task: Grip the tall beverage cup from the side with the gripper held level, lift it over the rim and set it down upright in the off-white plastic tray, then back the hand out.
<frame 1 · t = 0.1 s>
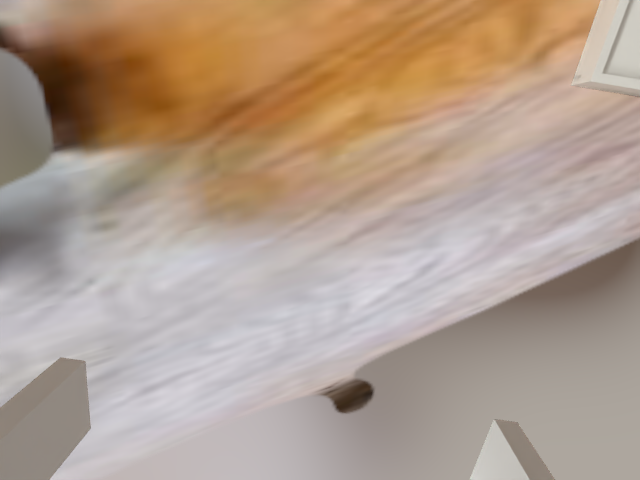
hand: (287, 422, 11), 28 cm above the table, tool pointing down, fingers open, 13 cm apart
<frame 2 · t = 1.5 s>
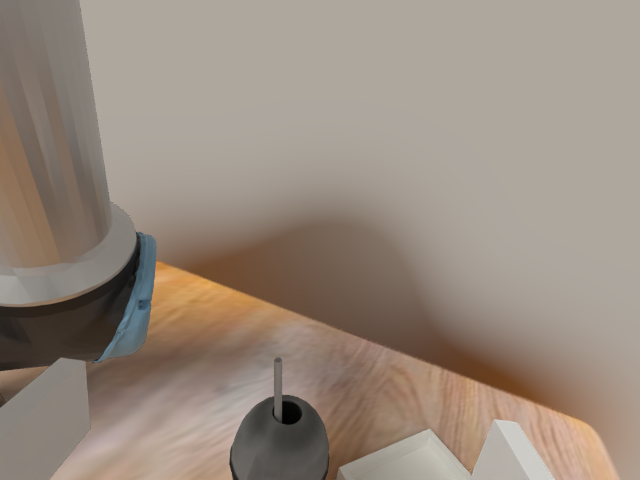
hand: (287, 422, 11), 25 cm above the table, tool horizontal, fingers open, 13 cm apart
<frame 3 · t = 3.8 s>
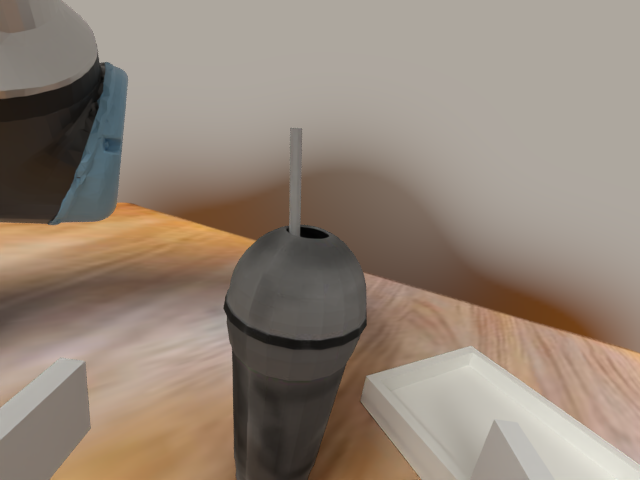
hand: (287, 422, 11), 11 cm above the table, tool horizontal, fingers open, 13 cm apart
beverage cup: (272, 470, 20), on the table
tray: (492, 453, 24), on the table
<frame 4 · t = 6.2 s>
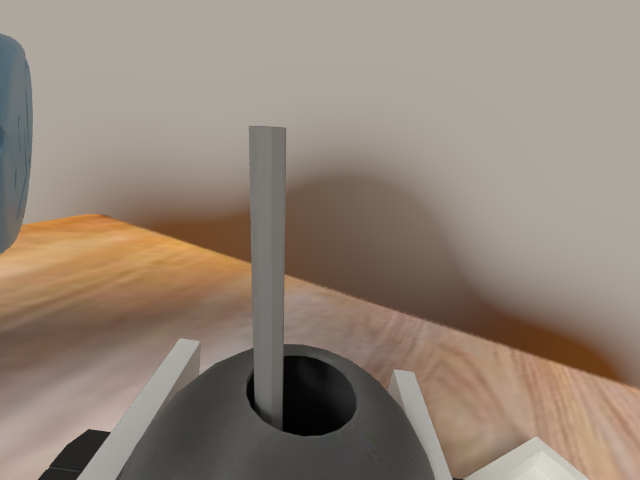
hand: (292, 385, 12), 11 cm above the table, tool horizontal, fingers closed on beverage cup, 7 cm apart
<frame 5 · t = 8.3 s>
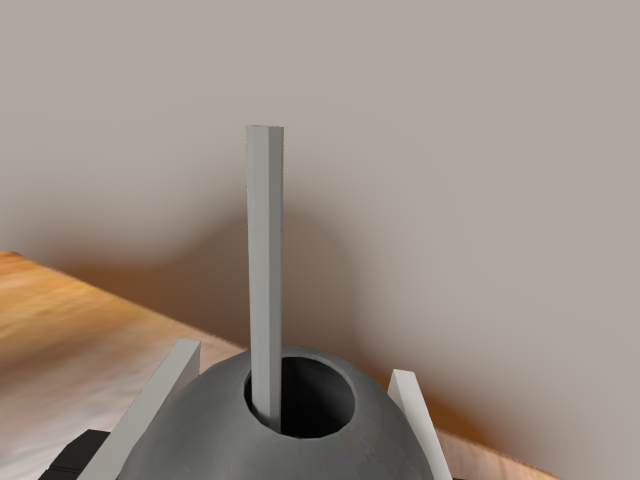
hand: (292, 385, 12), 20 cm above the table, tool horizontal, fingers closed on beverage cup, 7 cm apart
when the fingers open (13 cm above the table, at t = 10.4 s): beverage cup drops 1 cm, resting on tray.
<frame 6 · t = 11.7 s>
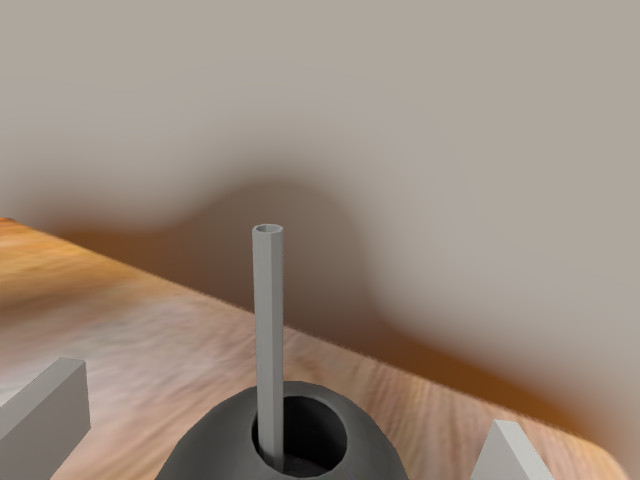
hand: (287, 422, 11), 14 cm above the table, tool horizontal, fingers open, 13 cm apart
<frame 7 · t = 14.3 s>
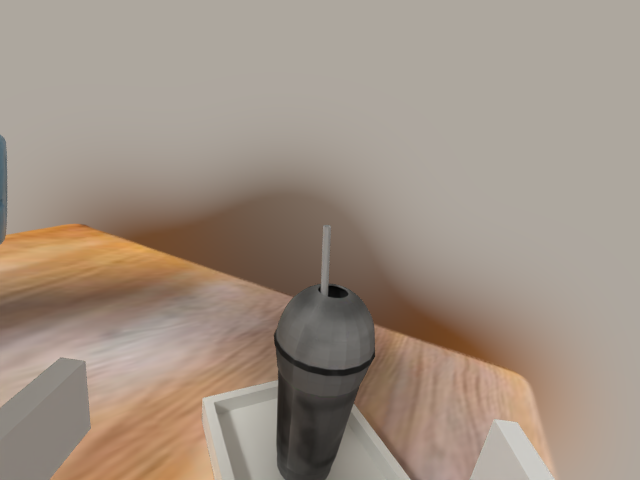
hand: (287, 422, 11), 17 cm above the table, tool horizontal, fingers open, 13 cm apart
beverage cup: (303, 462, 27), point 1 cm above the table, touching tray
tray: (299, 467, 27), on the table
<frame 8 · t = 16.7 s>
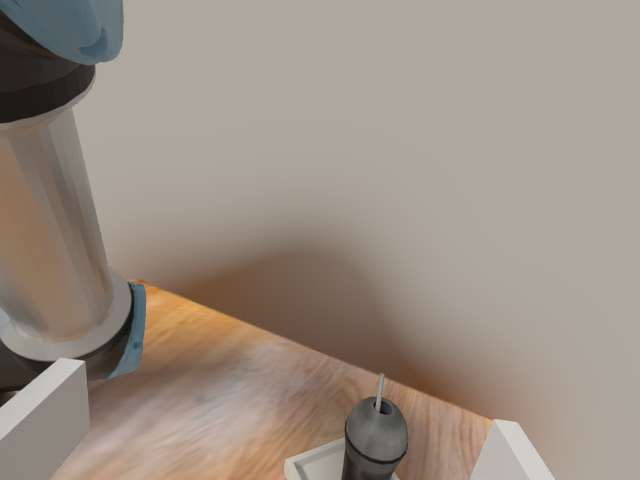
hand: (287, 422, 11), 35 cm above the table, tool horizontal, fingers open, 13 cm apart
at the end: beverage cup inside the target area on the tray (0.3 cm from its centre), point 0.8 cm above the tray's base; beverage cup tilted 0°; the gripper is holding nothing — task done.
